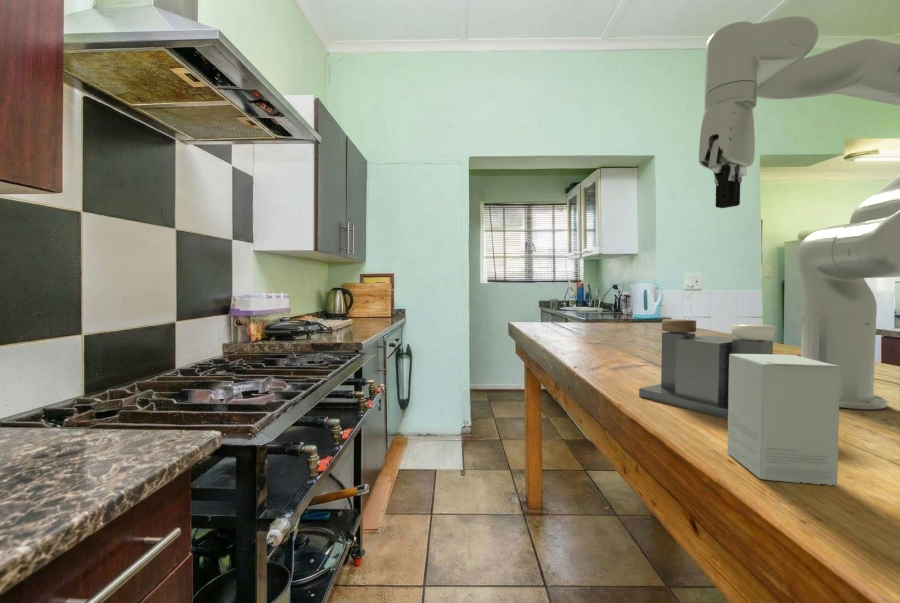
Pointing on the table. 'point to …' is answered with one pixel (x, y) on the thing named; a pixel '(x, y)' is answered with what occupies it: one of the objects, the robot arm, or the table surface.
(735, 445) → the supplement box
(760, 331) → the cream plunger
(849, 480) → the table surface
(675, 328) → the walnut plunger
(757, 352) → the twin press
